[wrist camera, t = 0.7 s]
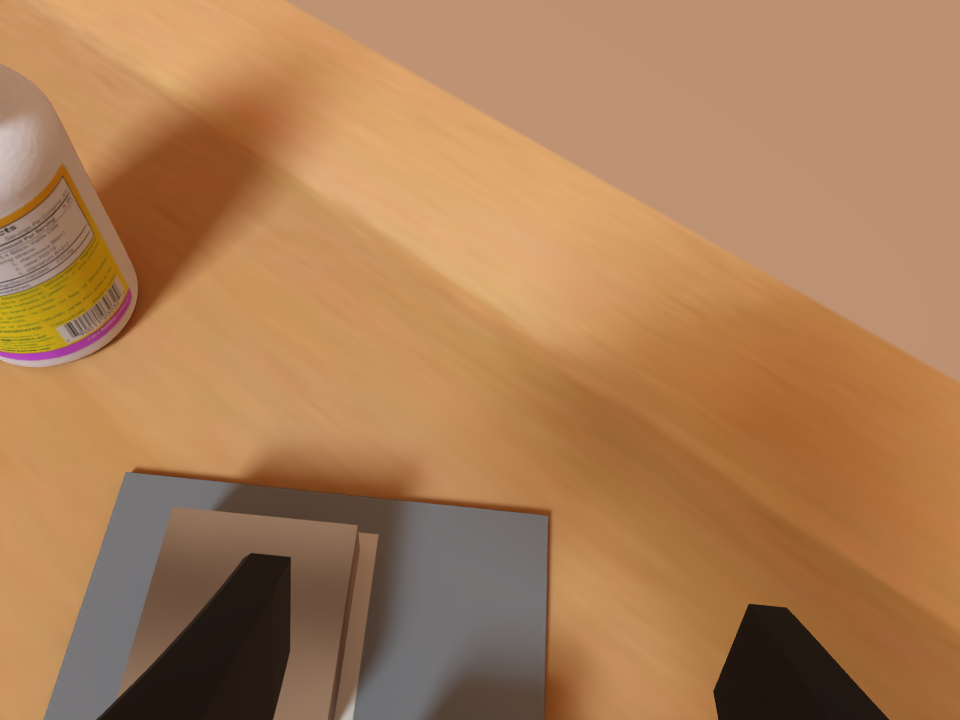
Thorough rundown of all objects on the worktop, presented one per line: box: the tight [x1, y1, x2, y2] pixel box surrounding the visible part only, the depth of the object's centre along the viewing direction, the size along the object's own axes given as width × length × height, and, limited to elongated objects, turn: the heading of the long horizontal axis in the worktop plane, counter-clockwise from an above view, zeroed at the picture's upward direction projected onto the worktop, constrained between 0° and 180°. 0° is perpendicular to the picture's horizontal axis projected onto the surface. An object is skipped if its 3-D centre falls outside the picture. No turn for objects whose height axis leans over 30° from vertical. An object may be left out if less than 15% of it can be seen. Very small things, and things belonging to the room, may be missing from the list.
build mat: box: [44, 472, 548, 720], centre depth 24 cm, size 14×16×1 cm
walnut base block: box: [117, 507, 360, 720], centre depth 23 cm, size 6×6×3 cm
